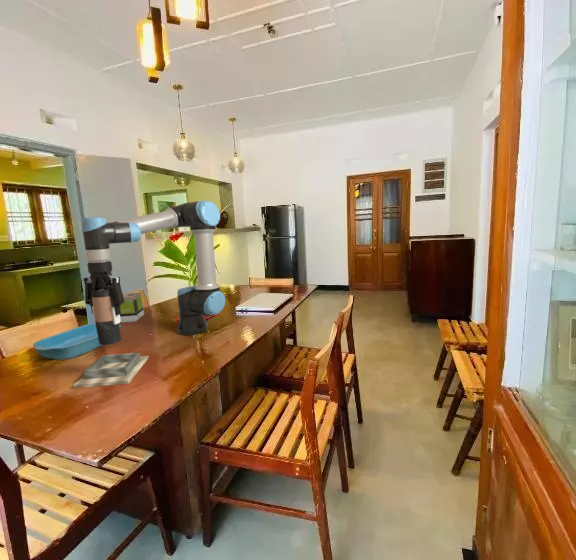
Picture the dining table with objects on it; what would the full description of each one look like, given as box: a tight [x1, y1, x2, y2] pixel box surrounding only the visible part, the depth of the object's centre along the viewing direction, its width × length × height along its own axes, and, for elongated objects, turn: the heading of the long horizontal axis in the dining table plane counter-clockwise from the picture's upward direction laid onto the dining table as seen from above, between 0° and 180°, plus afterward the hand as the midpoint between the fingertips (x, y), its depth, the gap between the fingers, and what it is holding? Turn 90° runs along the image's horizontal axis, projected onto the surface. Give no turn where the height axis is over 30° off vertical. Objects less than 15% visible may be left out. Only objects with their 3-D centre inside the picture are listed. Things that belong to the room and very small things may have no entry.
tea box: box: [120, 291, 145, 323], centre depth 195 cm, size 15×10×15 cm, turn 6°
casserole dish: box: [32, 322, 122, 361], centre depth 150 cm, size 37×22×7 cm, turn 160°
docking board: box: [73, 352, 149, 389], centre depth 122 cm, size 18×22×4 cm
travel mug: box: [91, 287, 122, 346], centre depth 118 cm, size 8×8×20 cm
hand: (107, 322), depth 119 cm, fingers closed on travel mug, 8 cm apart
